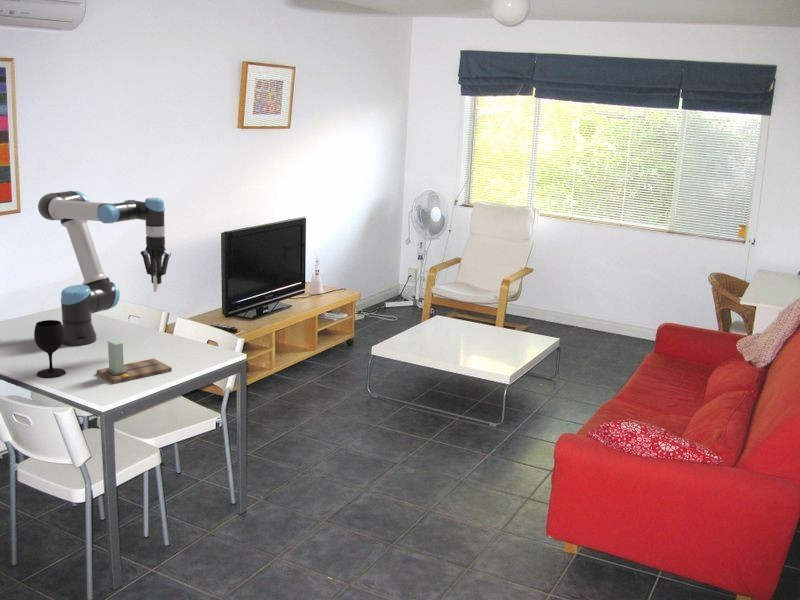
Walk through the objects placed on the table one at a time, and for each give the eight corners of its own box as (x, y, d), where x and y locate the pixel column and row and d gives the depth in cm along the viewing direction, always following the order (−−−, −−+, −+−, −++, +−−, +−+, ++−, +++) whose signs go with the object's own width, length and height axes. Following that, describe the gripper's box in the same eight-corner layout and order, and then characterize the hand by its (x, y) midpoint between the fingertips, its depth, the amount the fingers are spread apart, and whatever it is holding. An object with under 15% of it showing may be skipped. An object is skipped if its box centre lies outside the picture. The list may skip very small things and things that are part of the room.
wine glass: (62, 378, 314) (59, 327, 309) (33, 378, 312) (30, 327, 307) (68, 369, 323) (66, 319, 319) (40, 369, 322) (37, 319, 317)
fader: (114, 375, 314) (113, 345, 311) (105, 370, 318) (104, 341, 316) (126, 372, 317) (125, 343, 314) (118, 367, 322) (117, 338, 319)
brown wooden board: (113, 383, 310) (113, 379, 310) (96, 373, 320) (96, 369, 319) (171, 371, 327) (171, 367, 326) (154, 362, 336) (153, 358, 336)
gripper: (136, 235, 342) (137, 291, 348) (165, 238, 340) (166, 294, 345) (145, 233, 349) (147, 287, 355) (174, 235, 347) (175, 290, 353)
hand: (156, 291), depth 350 cm, fingers closed
